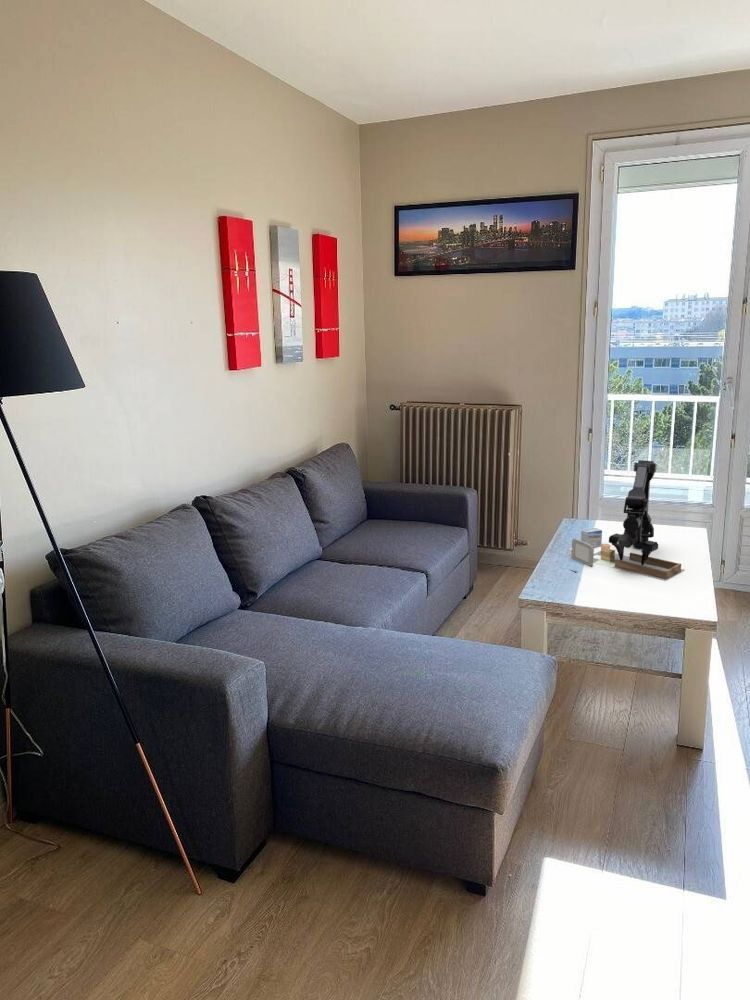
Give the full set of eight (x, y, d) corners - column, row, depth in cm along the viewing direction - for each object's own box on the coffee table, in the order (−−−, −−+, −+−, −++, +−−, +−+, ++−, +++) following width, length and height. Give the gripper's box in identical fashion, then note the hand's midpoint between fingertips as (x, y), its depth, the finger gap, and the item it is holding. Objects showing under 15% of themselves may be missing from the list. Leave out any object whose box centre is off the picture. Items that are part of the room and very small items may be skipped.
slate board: (601, 553, 323) (602, 550, 323) (685, 572, 297) (685, 569, 297) (580, 562, 312) (580, 559, 311) (665, 584, 286) (665, 581, 286)
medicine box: (586, 551, 325) (587, 532, 323) (580, 548, 329) (581, 529, 327) (601, 549, 328) (602, 530, 326) (595, 546, 332) (596, 527, 330)
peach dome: (603, 552, 320) (604, 543, 319) (611, 554, 318) (611, 544, 317) (599, 554, 318) (599, 545, 317) (606, 556, 315) (607, 546, 314)
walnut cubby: (630, 559, 311) (630, 552, 310) (680, 571, 296) (681, 564, 295) (614, 566, 302) (615, 559, 302) (665, 579, 287) (666, 572, 286)
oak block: (605, 557, 314) (606, 548, 313) (614, 559, 311) (615, 550, 310) (600, 559, 311) (601, 550, 310) (609, 561, 308) (610, 552, 307)
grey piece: (555, 563, 312) (556, 540, 309) (573, 560, 315) (574, 537, 313) (575, 573, 300) (576, 549, 298) (593, 569, 303) (595, 546, 301)
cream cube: (571, 555, 321) (572, 546, 320) (580, 556, 319) (581, 547, 318) (568, 558, 318) (569, 549, 317) (578, 559, 316) (578, 550, 315)
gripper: (602, 525, 301) (600, 562, 305) (646, 534, 288) (643, 573, 291) (616, 519, 308) (614, 556, 312) (660, 528, 295) (657, 566, 299)
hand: (631, 562), depth 303 cm, fingers open, 9 cm apart
